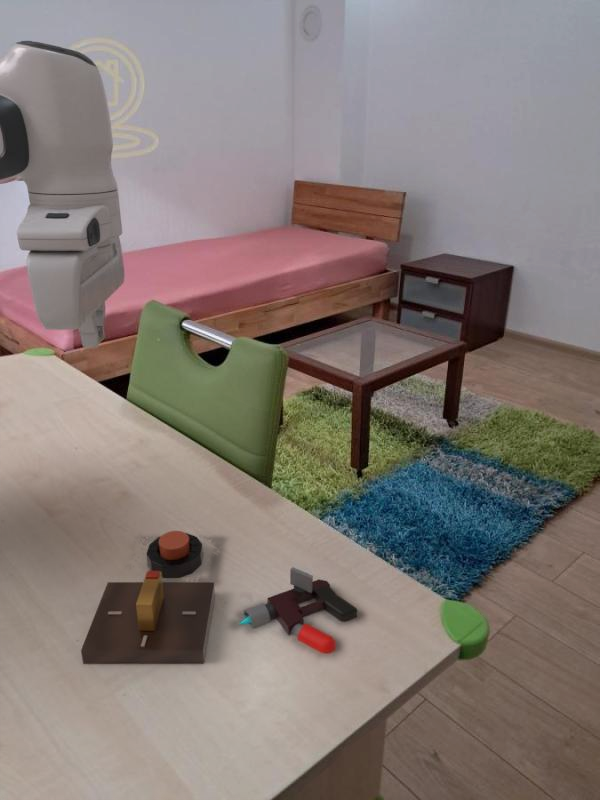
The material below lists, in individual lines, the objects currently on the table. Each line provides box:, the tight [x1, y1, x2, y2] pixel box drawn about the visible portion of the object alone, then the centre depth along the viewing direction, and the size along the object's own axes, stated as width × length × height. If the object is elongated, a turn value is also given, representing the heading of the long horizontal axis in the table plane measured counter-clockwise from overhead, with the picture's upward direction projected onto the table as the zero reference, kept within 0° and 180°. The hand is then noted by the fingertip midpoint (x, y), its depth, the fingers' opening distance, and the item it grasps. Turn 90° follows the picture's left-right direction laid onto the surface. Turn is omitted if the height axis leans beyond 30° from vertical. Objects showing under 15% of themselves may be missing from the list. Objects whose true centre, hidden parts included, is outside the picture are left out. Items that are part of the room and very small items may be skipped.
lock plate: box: [80, 581, 216, 665], centre depth 67 cm, size 12×10×3 cm
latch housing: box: [146, 532, 204, 579], centre depth 77 cm, size 10×8×3 cm
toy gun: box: [238, 566, 358, 655], centre depth 67 cm, size 10×12×5 cm
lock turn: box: [136, 570, 164, 631], centre depth 66 cm, size 5×2×4 cm, turn 0°
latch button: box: [159, 530, 190, 560], centre depth 77 cm, size 4×4×2 cm
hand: (94, 343), depth 72 cm, fingers closed
